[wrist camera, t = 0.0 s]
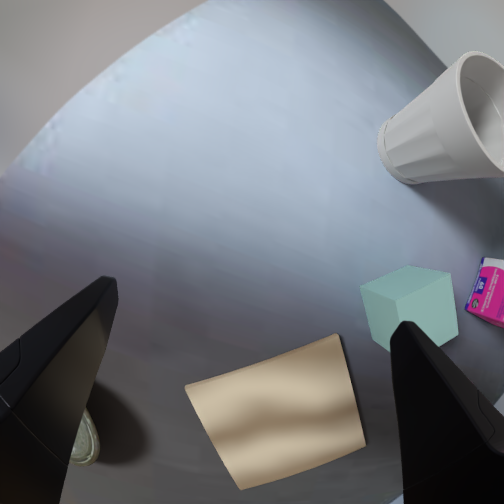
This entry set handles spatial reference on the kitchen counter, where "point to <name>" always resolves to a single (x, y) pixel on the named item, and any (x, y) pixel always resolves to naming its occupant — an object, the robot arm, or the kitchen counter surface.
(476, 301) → the supplement box
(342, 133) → the kitchen counter surface
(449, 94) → the cup
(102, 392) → the kitchen counter surface
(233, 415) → the pad
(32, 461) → the robot arm
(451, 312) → the teal block
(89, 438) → the lid
